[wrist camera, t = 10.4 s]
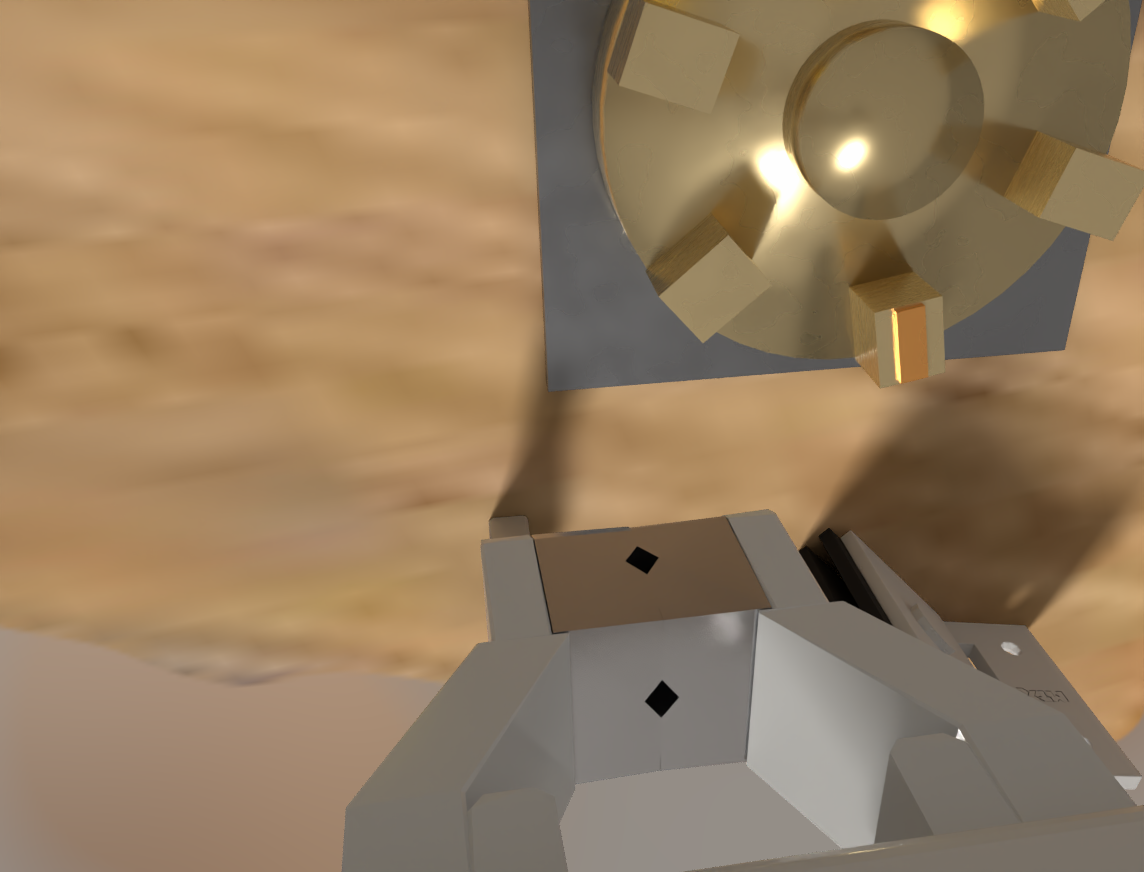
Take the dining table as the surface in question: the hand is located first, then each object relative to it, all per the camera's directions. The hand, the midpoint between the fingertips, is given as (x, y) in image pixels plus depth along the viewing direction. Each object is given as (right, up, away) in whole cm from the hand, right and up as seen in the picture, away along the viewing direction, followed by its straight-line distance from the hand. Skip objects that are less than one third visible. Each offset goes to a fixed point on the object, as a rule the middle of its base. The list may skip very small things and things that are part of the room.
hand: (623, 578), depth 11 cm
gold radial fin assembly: (+9, +14, +26) cm, 31 cm away
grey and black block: (+16, -7, +40) cm, 44 cm away
